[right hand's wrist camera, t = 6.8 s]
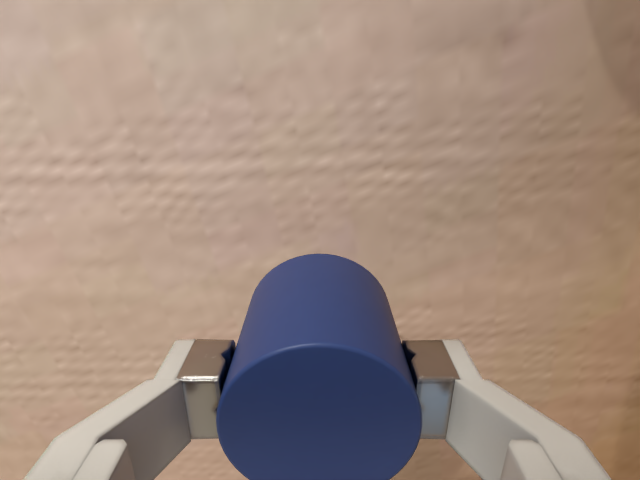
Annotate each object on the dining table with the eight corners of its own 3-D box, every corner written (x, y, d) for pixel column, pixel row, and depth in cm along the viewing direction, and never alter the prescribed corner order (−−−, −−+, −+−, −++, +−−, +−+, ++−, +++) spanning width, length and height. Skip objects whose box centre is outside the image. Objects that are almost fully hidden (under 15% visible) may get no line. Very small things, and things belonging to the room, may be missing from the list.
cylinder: (256, 374, 14) (227, 504, 9) (243, 254, 12) (201, 347, 8) (387, 371, 14) (417, 500, 9) (391, 250, 12) (430, 341, 8)
